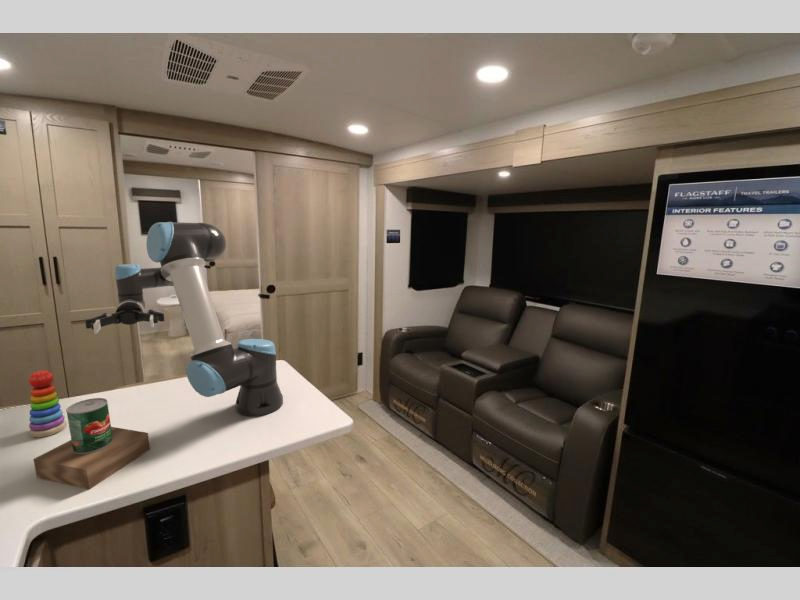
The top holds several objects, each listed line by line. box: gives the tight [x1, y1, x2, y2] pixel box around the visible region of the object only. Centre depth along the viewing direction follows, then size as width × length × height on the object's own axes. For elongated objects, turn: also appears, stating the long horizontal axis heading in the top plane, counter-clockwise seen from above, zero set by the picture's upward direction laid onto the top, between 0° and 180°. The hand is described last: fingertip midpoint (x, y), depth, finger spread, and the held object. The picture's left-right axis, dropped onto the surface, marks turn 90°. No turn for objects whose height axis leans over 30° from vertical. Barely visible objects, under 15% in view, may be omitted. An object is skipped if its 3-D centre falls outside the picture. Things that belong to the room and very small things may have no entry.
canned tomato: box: [66, 397, 113, 454], centre depth 92 cm, size 8×8×11 cm
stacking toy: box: [28, 369, 67, 438], centre depth 106 cm, size 8×8×19 cm
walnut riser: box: [33, 426, 151, 490], centre depth 94 cm, size 16×16×5 cm
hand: (124, 326), depth 110 cm, fingers open, 13 cm apart
